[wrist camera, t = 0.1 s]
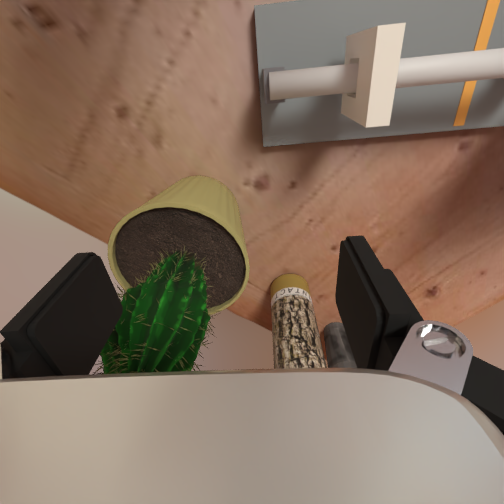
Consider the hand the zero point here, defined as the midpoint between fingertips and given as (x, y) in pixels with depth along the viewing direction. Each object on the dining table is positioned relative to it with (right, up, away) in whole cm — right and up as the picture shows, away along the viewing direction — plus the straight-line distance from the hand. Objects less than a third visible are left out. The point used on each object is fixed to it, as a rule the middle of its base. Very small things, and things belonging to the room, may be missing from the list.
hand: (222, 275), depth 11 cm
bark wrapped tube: (+8, -5, +40) cm, 42 cm away
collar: (+12, +20, +19) cm, 30 cm away
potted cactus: (-7, +7, +33) cm, 34 cm away
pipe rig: (+17, +22, +22) cm, 36 cm away
